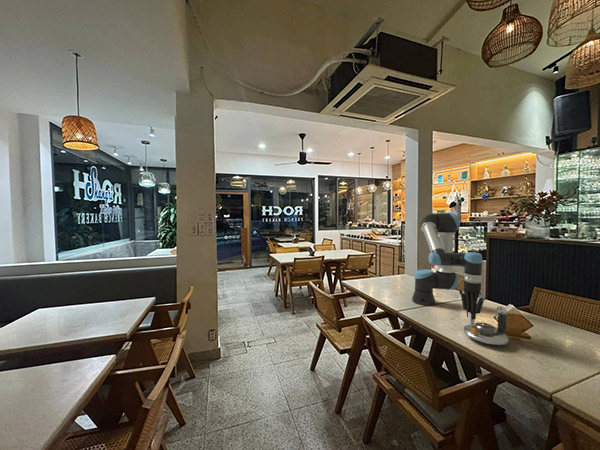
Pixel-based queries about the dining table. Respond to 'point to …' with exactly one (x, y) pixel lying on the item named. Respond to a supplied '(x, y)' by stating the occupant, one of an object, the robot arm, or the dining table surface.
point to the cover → (485, 329)
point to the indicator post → (501, 319)
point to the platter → (495, 340)
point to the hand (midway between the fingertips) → (470, 324)
